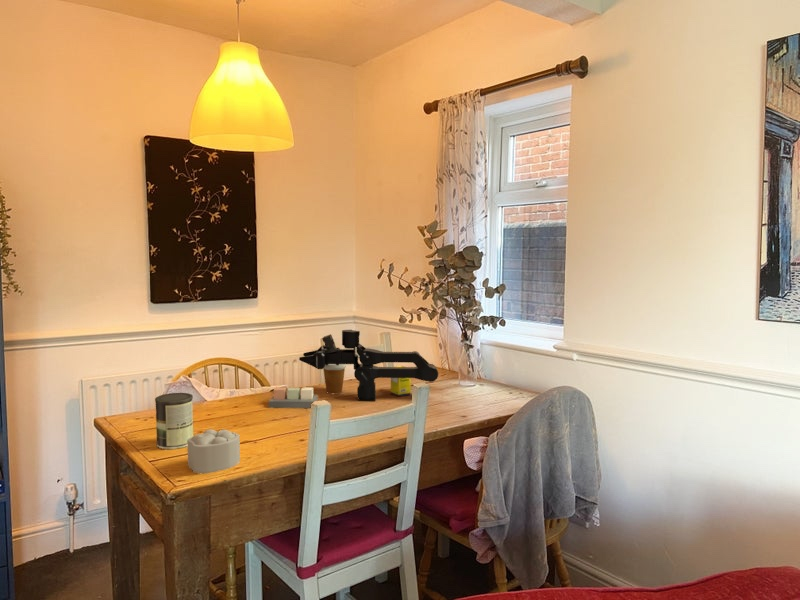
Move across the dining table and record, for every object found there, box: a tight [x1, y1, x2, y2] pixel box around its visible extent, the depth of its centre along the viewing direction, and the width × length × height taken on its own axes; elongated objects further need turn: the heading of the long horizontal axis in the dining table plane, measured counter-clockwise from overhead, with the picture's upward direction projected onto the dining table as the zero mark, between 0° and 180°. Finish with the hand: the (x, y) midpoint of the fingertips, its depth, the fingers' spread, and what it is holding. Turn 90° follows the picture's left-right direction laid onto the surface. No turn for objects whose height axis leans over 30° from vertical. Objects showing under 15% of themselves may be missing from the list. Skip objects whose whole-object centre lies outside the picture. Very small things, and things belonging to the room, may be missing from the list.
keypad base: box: [268, 394, 319, 409], centre depth 211 cm, size 16×10×2 cm, turn 90°
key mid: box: [287, 386, 301, 400], centre depth 211 cm, size 4×4×4 cm
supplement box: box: [390, 365, 412, 397], centre depth 227 cm, size 6×6×11 cm
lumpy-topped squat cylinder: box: [186, 428, 241, 475], centre depth 151 cm, size 10×13×9 cm
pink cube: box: [273, 386, 288, 399], centre depth 211 cm, size 4×4×4 cm
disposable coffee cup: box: [322, 364, 347, 394], centre depth 230 cm, size 10×10×12 cm
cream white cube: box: [300, 387, 314, 400], centre depth 211 cm, size 4×4×4 cm
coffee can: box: [154, 392, 194, 450], centre depth 167 cm, size 10×10×14 cm
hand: (301, 356), depth 218 cm, fingers open, 9 cm apart
